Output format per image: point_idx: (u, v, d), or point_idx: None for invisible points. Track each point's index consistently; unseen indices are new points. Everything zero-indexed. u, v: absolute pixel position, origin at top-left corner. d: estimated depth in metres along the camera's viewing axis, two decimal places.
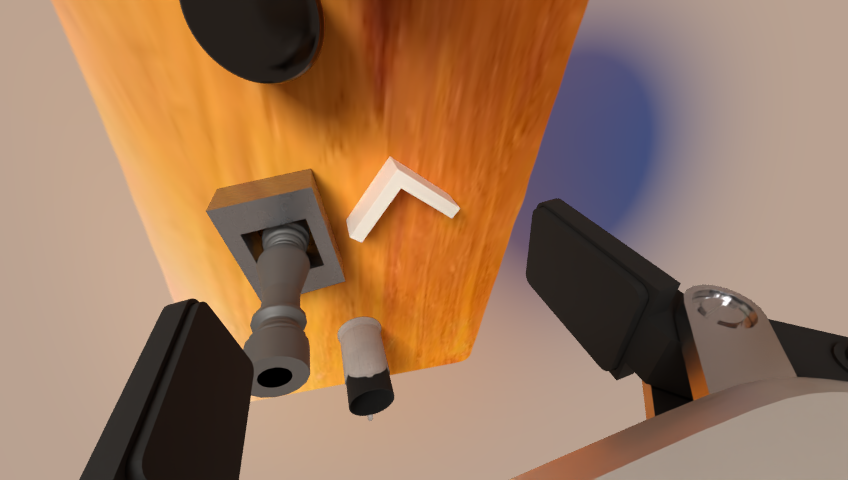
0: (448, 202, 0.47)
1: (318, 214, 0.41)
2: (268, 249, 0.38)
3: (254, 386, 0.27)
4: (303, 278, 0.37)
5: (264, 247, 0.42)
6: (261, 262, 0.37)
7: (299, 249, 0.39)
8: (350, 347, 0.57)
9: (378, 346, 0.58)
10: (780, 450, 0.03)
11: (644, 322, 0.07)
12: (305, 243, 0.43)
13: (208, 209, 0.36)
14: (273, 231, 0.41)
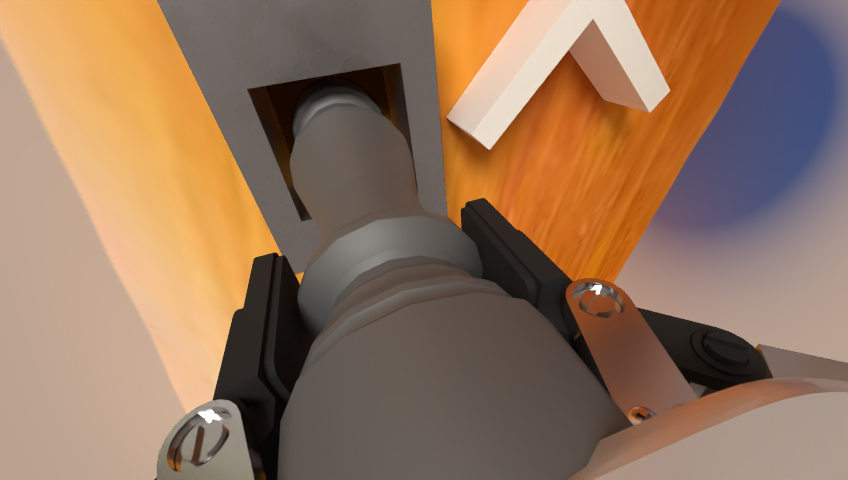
0: (657, 72, 0.24)
1: (429, 57, 0.18)
2: (322, 114, 0.15)
3: None
4: None
5: None
6: (304, 141, 0.14)
7: None
8: None
9: None
10: (780, 450, 0.03)
11: None
12: None
13: None
14: (322, 99, 0.18)
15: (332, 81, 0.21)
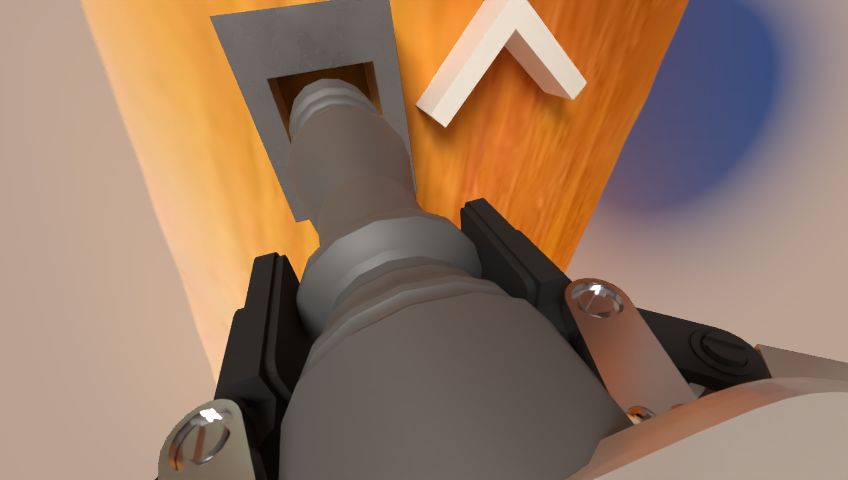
0: (574, 68, 0.31)
1: (393, 57, 0.25)
2: (318, 115, 0.14)
3: None
4: None
5: None
6: (302, 142, 0.14)
7: None
8: None
9: None
10: (780, 450, 0.03)
11: None
12: None
13: (214, 16, 0.21)
14: (319, 100, 0.18)
15: (328, 82, 0.21)
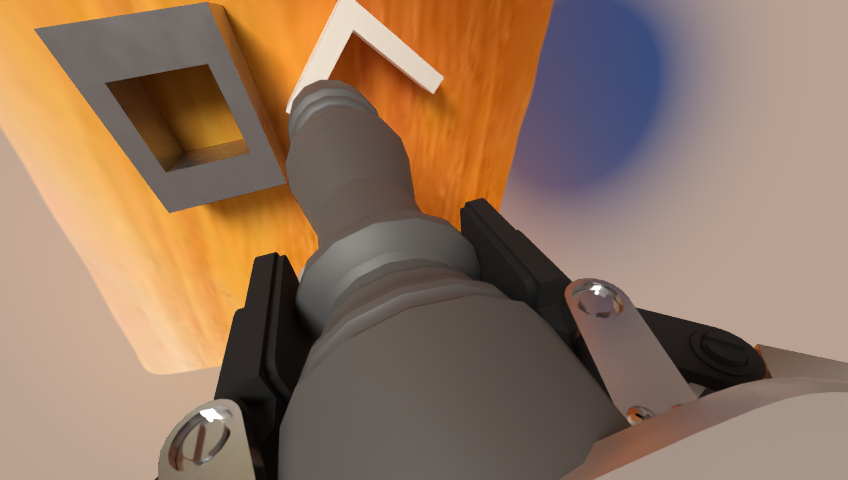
0: (426, 64, 0.33)
1: (228, 59, 0.27)
2: (317, 116, 0.14)
3: None
4: None
5: None
6: (301, 143, 0.14)
7: None
8: None
9: None
10: (780, 450, 0.03)
11: None
12: None
13: (39, 28, 0.23)
14: (318, 101, 0.18)
15: (327, 83, 0.21)
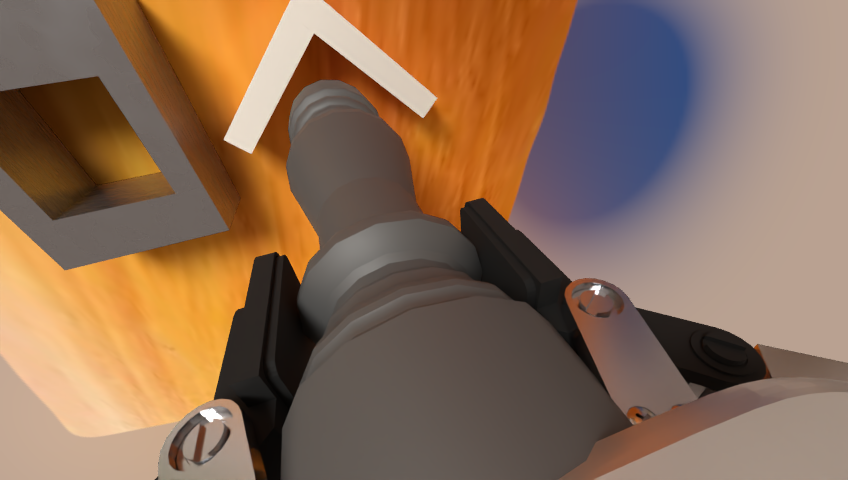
0: (414, 81, 0.25)
1: (130, 71, 0.19)
2: (318, 116, 0.14)
3: None
4: None
5: None
6: (301, 144, 0.14)
7: (390, 127, 0.16)
8: None
9: None
10: (779, 450, 0.03)
11: None
12: None
13: None
14: (318, 102, 0.18)
15: (328, 83, 0.21)
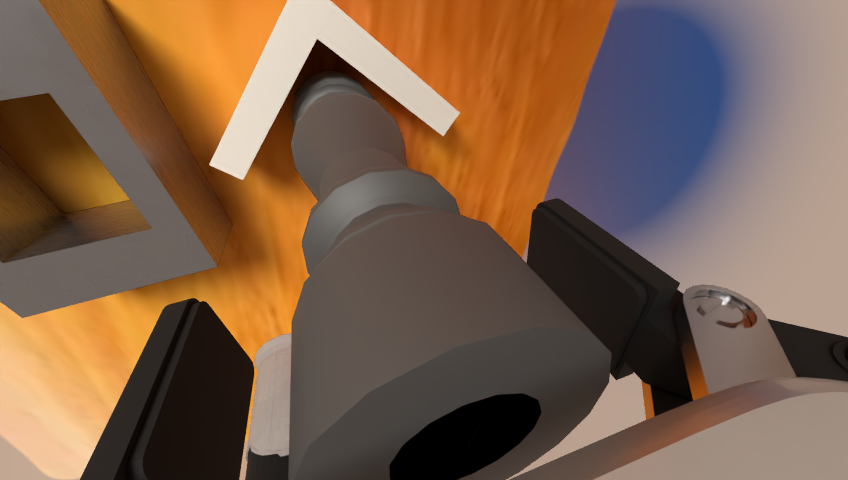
0: (434, 94, 0.22)
1: (89, 86, 0.16)
2: (320, 99, 0.16)
3: None
4: None
5: None
6: (305, 124, 0.15)
7: None
8: (264, 389, 0.32)
9: None
10: (780, 450, 0.03)
11: (643, 322, 0.07)
12: None
13: None
14: (320, 89, 0.19)
15: (329, 74, 0.22)
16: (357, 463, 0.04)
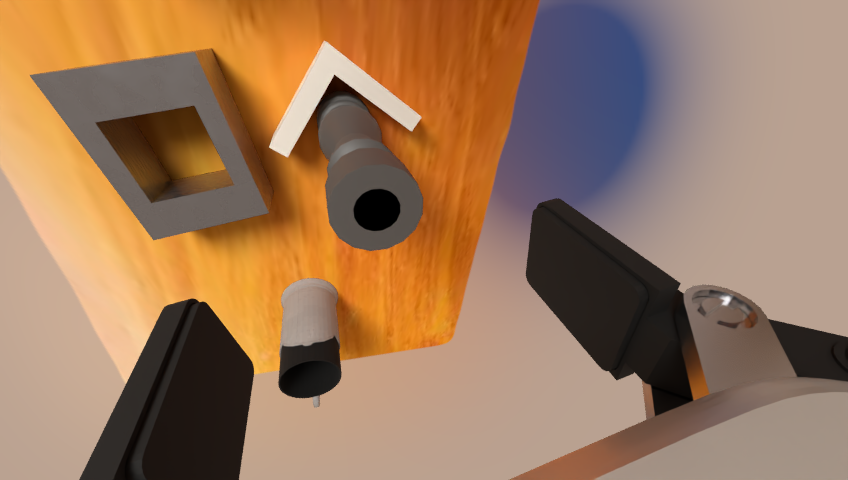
0: (404, 105, 0.35)
1: (214, 102, 0.29)
2: (334, 109, 0.29)
3: (348, 222, 0.18)
4: None
5: None
6: (326, 122, 0.29)
7: None
8: (290, 312, 0.45)
9: (327, 312, 0.46)
10: (779, 450, 0.03)
11: (644, 322, 0.07)
12: None
13: (34, 74, 0.25)
14: (334, 103, 0.33)
15: (339, 93, 0.36)
16: (344, 202, 0.18)
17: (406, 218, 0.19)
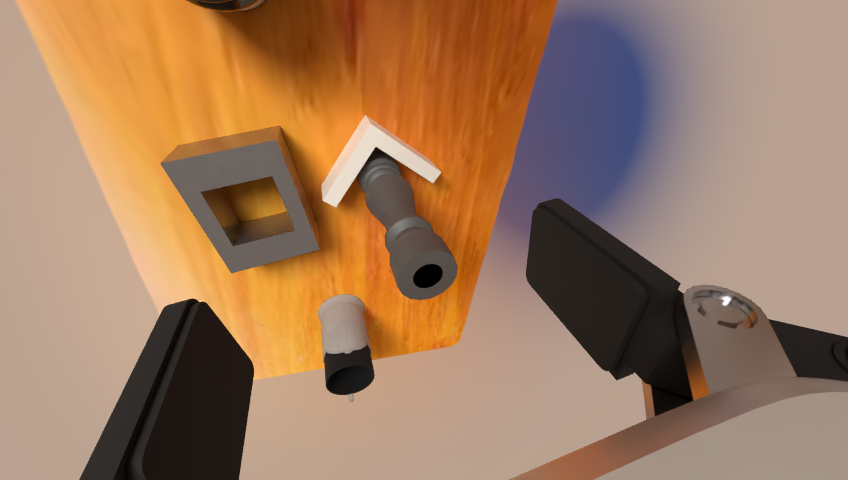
0: (428, 164, 0.44)
1: (286, 172, 0.38)
2: (379, 178, 0.39)
3: (409, 284, 0.28)
4: (414, 205, 0.38)
5: (364, 183, 0.43)
6: (374, 189, 0.38)
7: (405, 180, 0.40)
8: (329, 324, 0.54)
9: (359, 323, 0.55)
10: (780, 450, 0.03)
11: (644, 322, 0.07)
12: None
13: (163, 162, 0.34)
14: (374, 166, 0.42)
15: (376, 154, 0.45)
16: (408, 273, 0.27)
17: (446, 279, 0.29)
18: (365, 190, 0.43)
